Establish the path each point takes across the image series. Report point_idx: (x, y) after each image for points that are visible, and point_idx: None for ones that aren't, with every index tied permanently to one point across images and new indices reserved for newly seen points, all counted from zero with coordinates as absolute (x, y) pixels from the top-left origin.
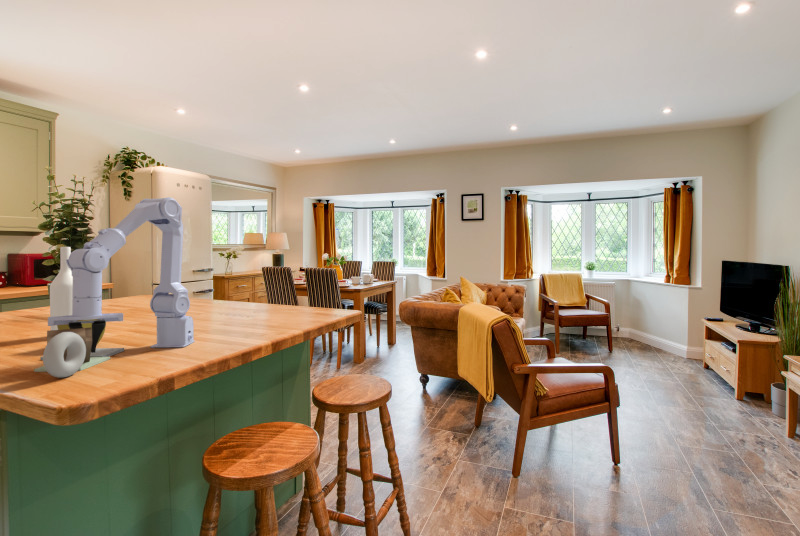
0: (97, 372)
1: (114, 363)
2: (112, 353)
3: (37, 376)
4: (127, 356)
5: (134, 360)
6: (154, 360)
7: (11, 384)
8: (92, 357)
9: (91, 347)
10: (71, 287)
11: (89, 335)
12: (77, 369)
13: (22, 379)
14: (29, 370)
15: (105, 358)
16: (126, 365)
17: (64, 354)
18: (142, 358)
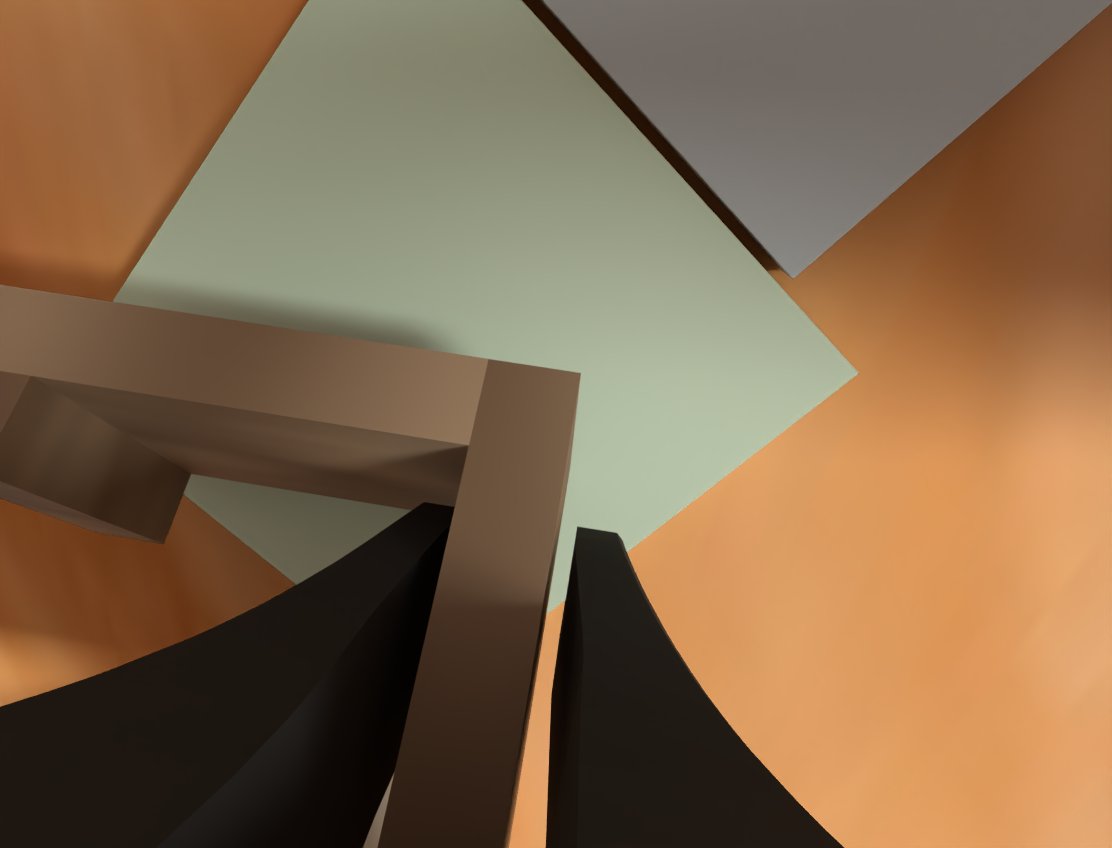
0: (541, 824)
1: (771, 633)
2: (1036, 60)
3: (138, 598)
4: (1089, 366)
5: (984, 662)
6: (1102, 813)
7: (14, 696)
8: (670, 214)
9: (561, 637)
10: None
11: None
12: None
13: (49, 608)
14: (19, 259)
15: (766, 441)
16: (808, 791)
17: (250, 455)
18: (1106, 638)
